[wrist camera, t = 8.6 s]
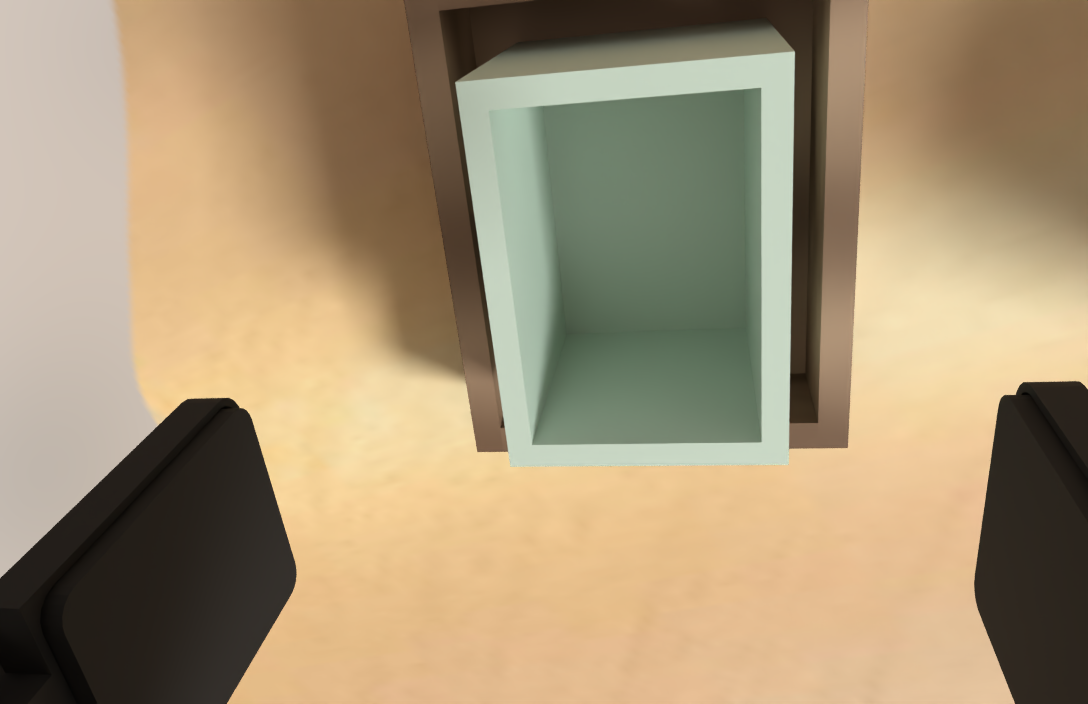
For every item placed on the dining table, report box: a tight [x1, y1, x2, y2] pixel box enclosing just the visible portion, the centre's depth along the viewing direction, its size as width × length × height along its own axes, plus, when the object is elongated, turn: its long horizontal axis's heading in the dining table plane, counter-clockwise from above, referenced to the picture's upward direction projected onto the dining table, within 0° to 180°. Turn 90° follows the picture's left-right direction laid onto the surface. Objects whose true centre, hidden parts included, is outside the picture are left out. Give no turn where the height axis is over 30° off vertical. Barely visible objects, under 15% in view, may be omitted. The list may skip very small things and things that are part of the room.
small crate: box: [455, 18, 795, 467], centre depth 22 cm, size 9×6×7 cm
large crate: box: [404, 0, 868, 452], centre depth 24 cm, size 13×10×4 cm
